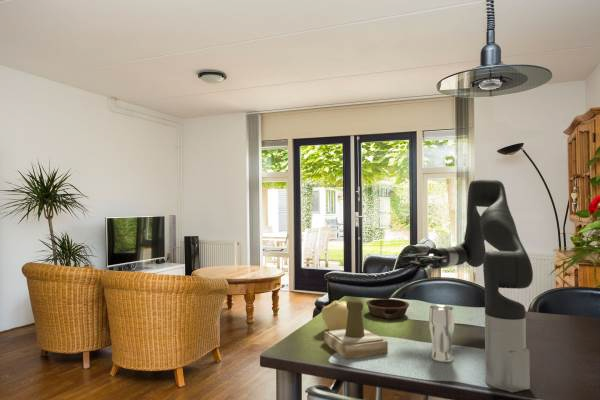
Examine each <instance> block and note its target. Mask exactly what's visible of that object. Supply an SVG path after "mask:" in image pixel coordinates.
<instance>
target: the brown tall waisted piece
mask: <svg viewBox="0 0 600 400" xmlns="http://www.w3.org/2000/svg"><path fill="white" fill-rule="evenodd" d="M346 303H347V309H348V317H347V325H346V333H345V335H346V336H347V337H351V338H361V337H364V329H365V328H364V322H363V313H362V311H363V308H364V304H363V302H362V300H360V299H349V300H348V301H346Z"/></svg>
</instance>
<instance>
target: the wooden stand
mask: <svg viewBox="0 0 600 400" xmlns="http://www.w3.org/2000/svg"><path fill="white" fill-rule="evenodd" d="M345 333H346V329H341V330H333V331H330V330H328V331H327V330H326V331H323V344H325V345H326V346H328V347H329V348H331V349H332V350H334V351H335V352H336V353H337V354H339V355H340V356H341V357H343V358H344V359H346V360H350V359H351V360H352V359H358V358H363V357H364V358H365V357H370V356H377V354H379V355H383V353H385V354H388V353H389V351H388V348H389V347H388V346H389V341H388V340H387V339H384V338H382V337H380V336H378V335H377V334H375V333H373V332H371V331H369V330H367V329H366V328H364V337H361V338H351V337H347V336H346V335H345Z"/></svg>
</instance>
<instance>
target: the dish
mask: <svg viewBox="0 0 600 400" xmlns="http://www.w3.org/2000/svg"><path fill="white" fill-rule="evenodd" d="M365 303H366V305H367V308H368V312H369V313H370V314H372V316H375V317H378V318H381V319H387V320H392V319H397V318H398V319H399V318H402V317H403V316H405V315H406V313H407V310H408V308H409V307H410V304H409V302H407V301H404V300H400V299H396V298H395V299H394V298H375V299H370V300H367V301H366V302H365Z"/></svg>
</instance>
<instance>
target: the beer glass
mask: <svg viewBox="0 0 600 400" xmlns="http://www.w3.org/2000/svg"><path fill="white" fill-rule="evenodd" d="M428 321H429V322H428V323H429V330H430V331H429V332H430V338H431V343H432V344H431V345H432V348H431V352H430V353H431V355H430V359H431V358H432V359H433V360H432V359H431V360H432V361H434V360H435V361H434V362H437V361H438V363H443V362H448V363H451V361H452V362H453V360H454V358H453V352H452V345H453V343H452V342H453V339H454V333H455V332H454V331H455V314H454V307H452V306H449V305H445V304H434V305H430V306H429V316H428Z"/></svg>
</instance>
